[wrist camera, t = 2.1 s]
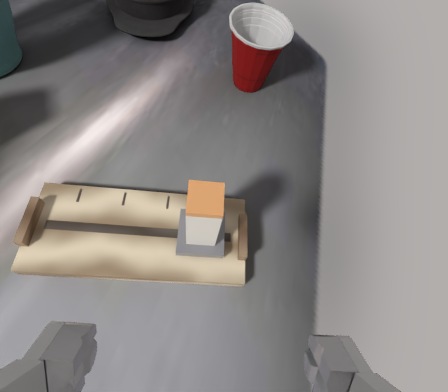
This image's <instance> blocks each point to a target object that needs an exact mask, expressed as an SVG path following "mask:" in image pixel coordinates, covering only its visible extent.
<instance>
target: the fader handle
mask: <svg viewBox="0 0 448 392" xmlns="http://www.w3.org/2000/svg"><path fill="white" fill-rule="evenodd" d="M224 188H225V183H219V182H208V181H197V180H189V185H188V194H187V203H186V209H181V211H180V219H179V228H178V236H177V245H176V255H180V256H195V257H210V258H223V257H224V237H225V212H224Z"/></svg>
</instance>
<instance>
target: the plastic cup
mask: <svg viewBox="0 0 448 392" xmlns="http://www.w3.org/2000/svg"><path fill="white" fill-rule="evenodd" d="M229 20H230V28H231V31H232V65H233V81H234V84H235V86H236V87H237V88H238V89H239V90H241V91H244V92H251V93H252V92H255V91H257V90H259V89H260V87H261V86H262V85H263V83H264V81H265V79H266V77H267V76H268V74H269V72H270V70H271V68H272V66H273V64H274V62H275V61H276V59H277V57H278V55H279V54H280V52H281V51H282V49H283V48H284V47H285V46H286V45H287V44H288V43H290V41H291V39H292V37H293V34H294V31H293V26H292V24H291V22H290V21H289V20H288V18H287V17H286V16H285V15H284V14H282V13H281V12H280V11H278V10H277V9H275V8H273V7H270V6H268V5H265V4H259V3H246V4H241V5H239V6H237V7H236V8H234V9H233V10H232V12H231V14H230V15H229Z"/></svg>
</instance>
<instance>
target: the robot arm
mask: <svg viewBox="0 0 448 392" xmlns="http://www.w3.org/2000/svg"><path fill="white" fill-rule="evenodd" d="M95 334H96V325H95V324H90V323H77V322H59V321H52V322H50V323H49V324H48V325H47V326H46V327H45V329H44V330H43V331H42V333H41V334H40V335H39V337H38V338H37V339H36V341H35V342H34V343H33V345H32V346H31V347H30V349H29V350H28V351H27V353H26V354H25V355H24V357H23V358H22V359H21V360H15V361H13V362H12V363H10V364H8V365H7V366H5V367H4V368H2V369H0V392H81V391H82V389H83V386H84V384H85V377H84V376H85V375H86V374H87V373H89V372H90V371H91V368H92V366H93V364H94V360H95V357H96V352H97V342H96V340H95V339H94V336H95ZM308 344H309V347H310V348H309V349H308V350H306V351H305V356H304V368H305V373H306V376H307V379H308V380H309V381H310V382H311V383H312V384H313V389H312V392H401V391H399V390H398V389H397V388H396V387H394V386H393V385H391V384H390V383H389V382H388V381H386V380H385V379H384V378H382V377H381V376H380V375H378V374H377V373H373V372H372V370H371V369H370V367H369V366H368V364H367V363H366V361H365V359H364V358H363V356H362V355H361V353H360V351H359V350H358V348H357V346H356V345H355V343H354V342H353V340H352V338H350V337H349V336H332V335H311V336H310V337H309V340H308Z"/></svg>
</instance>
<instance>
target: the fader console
mask: <svg viewBox="0 0 448 392" xmlns="http://www.w3.org/2000/svg"><path fill="white" fill-rule="evenodd" d="M186 203H187V195H186V194H174V193H162V192H151V191H139V190H127V189H115V188H103V187H91V186H79V185H67V184H55V183H44V186H43V188H42V191H41V193H40V196H39V197H31V198H30V200H29V203H28V205H27V208H26V210H25V213H24V215H23V218H22V220H21V222H20V225H19V227H18V230H17V232H16V235H15V237H14V240H13V242H14V243H15V244H17V245H19V246H20V247H19V250H18V252H17V255H16V257H15V260H14V263H13V265H12V268H11V270H10V271H12V272H15V273H18V274H25V275H42V276H60V277H78V278H96V279H113V280H131V281H149V282H167V283H184V284H202V285H220V286H238V287H243V286H244V285H245V260H246V259H247V214H245V199H234V198H224V212H225V237H224V257H223V258H210V257H195V256H180V255H176V245H177V236H178V228H179V219H180V211H181V209H186Z"/></svg>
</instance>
